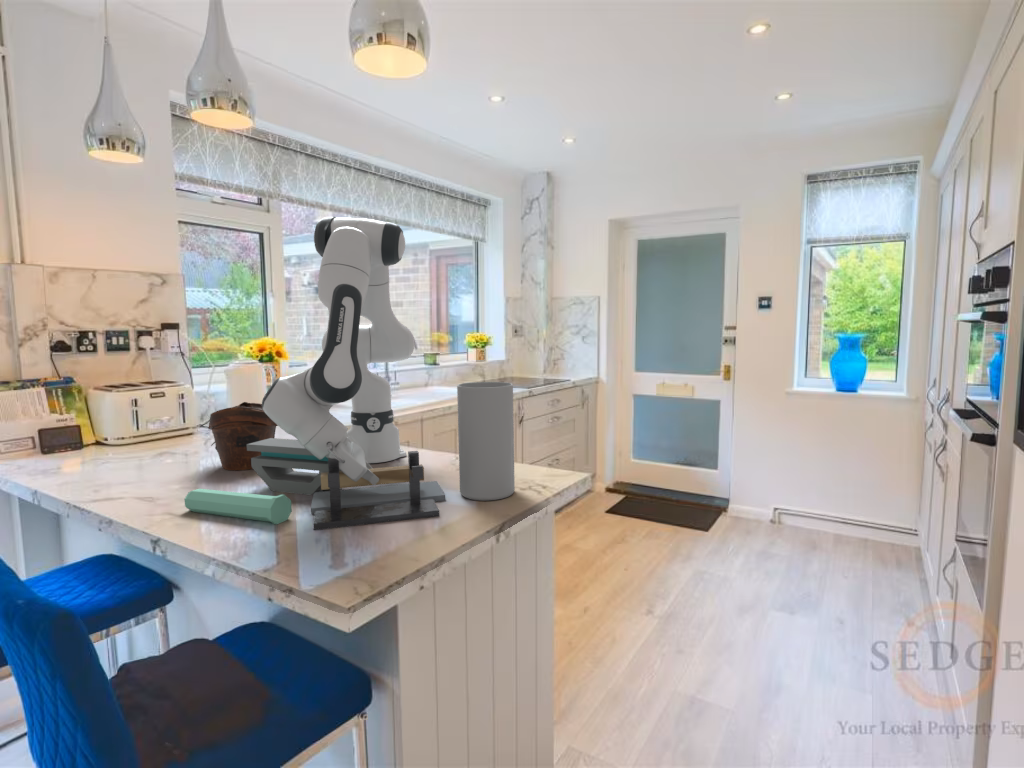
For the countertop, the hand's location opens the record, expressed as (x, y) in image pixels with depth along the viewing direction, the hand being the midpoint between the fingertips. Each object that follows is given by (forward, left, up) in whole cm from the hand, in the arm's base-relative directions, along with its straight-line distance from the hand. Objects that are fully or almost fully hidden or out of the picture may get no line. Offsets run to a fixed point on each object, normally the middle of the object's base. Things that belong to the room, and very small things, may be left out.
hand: (376, 479), depth 125 cm
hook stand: (+12, -1, -5) cm, 13 cm away
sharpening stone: (-15, -17, -5) cm, 23 cm away
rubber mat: (0, 0, -5) cm, 5 cm away
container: (+1, -29, -5) cm, 29 cm away
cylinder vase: (+4, +24, -5) cm, 25 cm away
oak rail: (0, -1, -1) cm, 1 cm away
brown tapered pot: (-46, -34, -5) cm, 57 cm away
